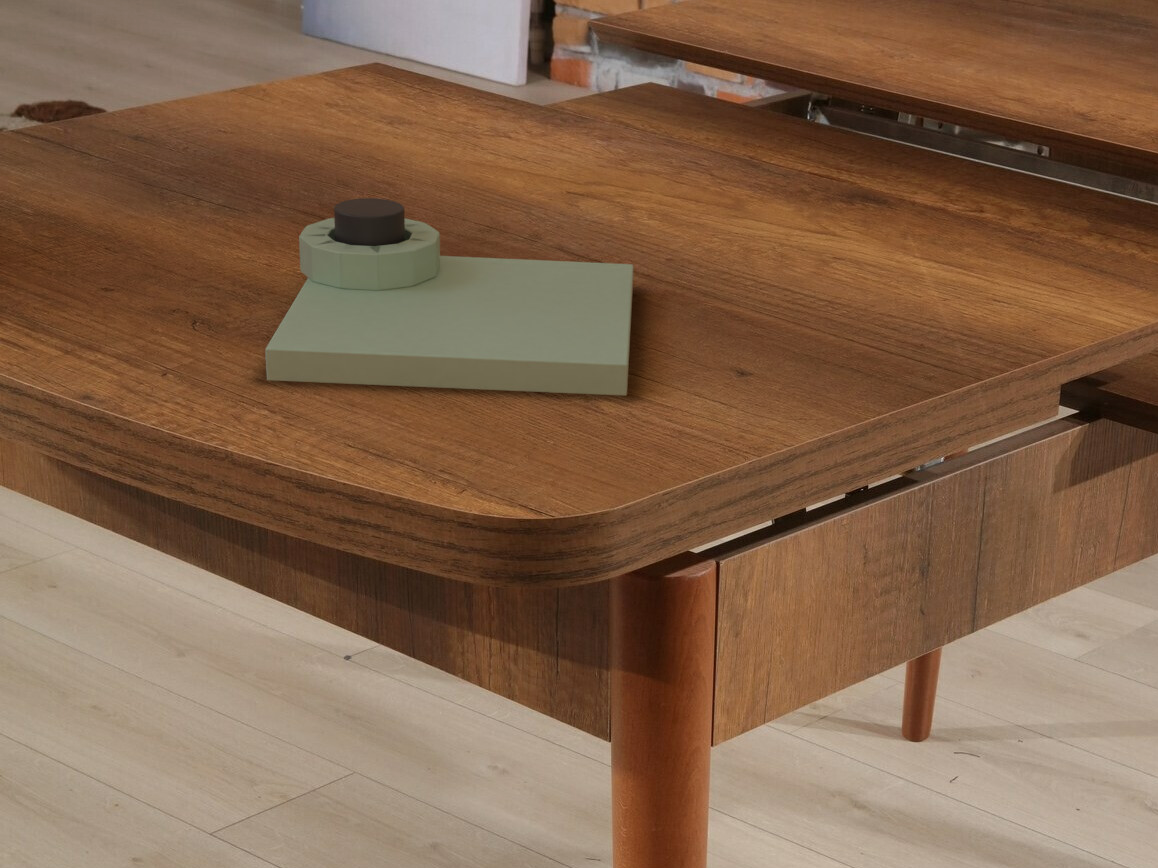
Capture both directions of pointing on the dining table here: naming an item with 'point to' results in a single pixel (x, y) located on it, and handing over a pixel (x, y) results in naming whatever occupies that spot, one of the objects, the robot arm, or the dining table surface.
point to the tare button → (369, 222)
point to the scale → (452, 319)
